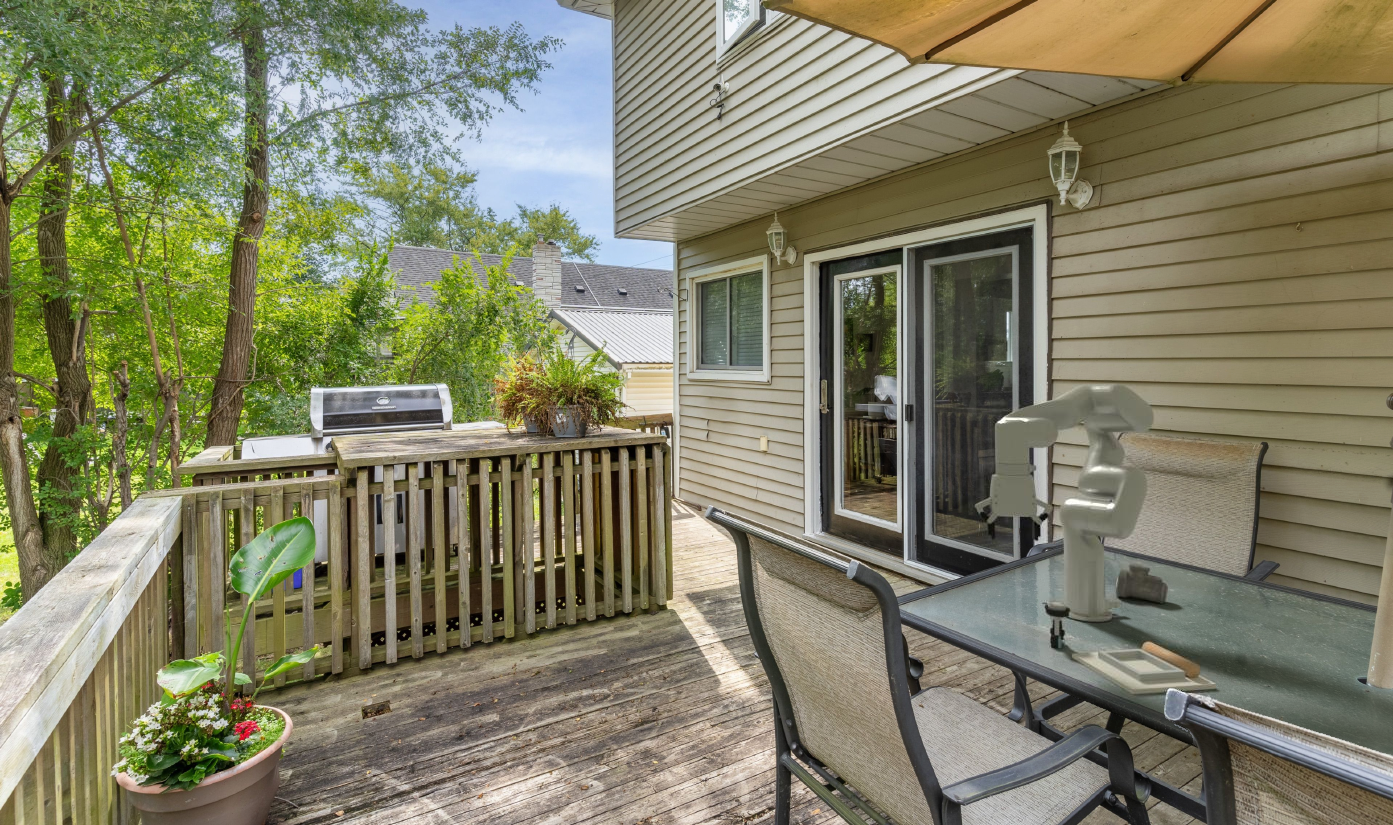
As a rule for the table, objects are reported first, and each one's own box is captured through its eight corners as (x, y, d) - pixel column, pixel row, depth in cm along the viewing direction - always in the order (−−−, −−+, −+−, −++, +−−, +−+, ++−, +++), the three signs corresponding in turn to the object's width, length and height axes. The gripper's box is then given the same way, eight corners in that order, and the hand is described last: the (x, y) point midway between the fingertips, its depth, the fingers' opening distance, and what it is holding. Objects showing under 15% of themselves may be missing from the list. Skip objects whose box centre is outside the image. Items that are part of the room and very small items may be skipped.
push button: (1046, 637, 158) (1046, 597, 158) (1071, 641, 155) (1071, 600, 155) (1043, 646, 153) (1043, 604, 153) (1069, 651, 150) (1069, 608, 150)
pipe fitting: (1112, 597, 186) (1117, 562, 186) (1117, 593, 192) (1122, 559, 192) (1163, 610, 178) (1168, 574, 178) (1166, 605, 184) (1171, 570, 184)
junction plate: (1146, 653, 148) (1146, 636, 147) (1216, 688, 130) (1215, 669, 130) (1072, 657, 146) (1072, 640, 146) (1132, 694, 128) (1132, 674, 128)
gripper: (1047, 468, 159) (1049, 536, 160) (972, 468, 164) (973, 534, 164) (1055, 472, 152) (1056, 543, 152) (976, 471, 157) (977, 541, 157)
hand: (1013, 538), depth 158 cm, fingers open, 9 cm apart
